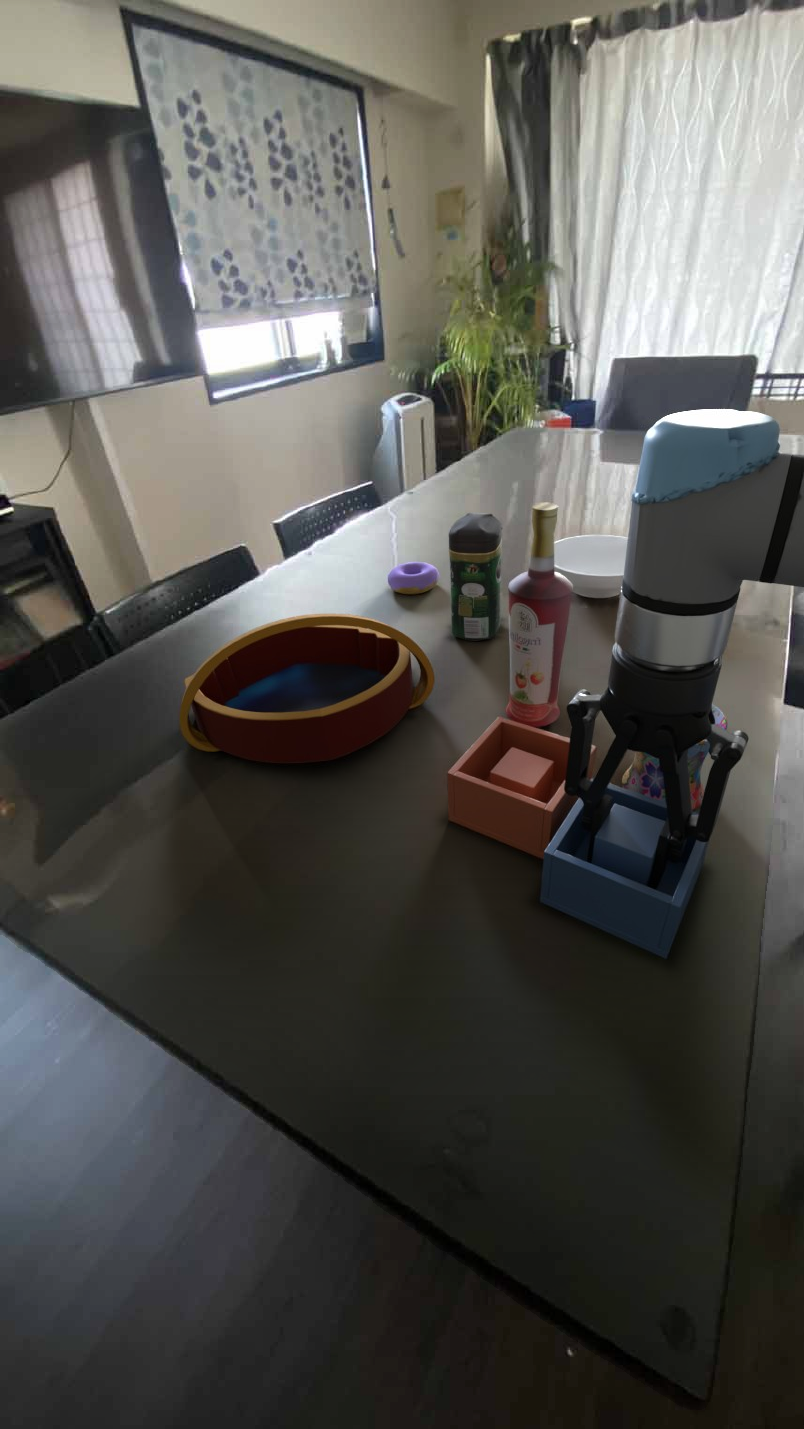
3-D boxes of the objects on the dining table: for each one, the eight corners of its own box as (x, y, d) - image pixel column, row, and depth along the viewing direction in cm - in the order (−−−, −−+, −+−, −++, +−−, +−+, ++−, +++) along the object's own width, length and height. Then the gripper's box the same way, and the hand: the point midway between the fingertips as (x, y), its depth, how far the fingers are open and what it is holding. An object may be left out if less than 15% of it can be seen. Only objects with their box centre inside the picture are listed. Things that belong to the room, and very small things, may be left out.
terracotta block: (551, 796, 71) (554, 761, 68) (531, 823, 68) (533, 788, 65) (510, 781, 73) (511, 746, 71) (489, 806, 70) (490, 771, 67)
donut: (420, 570, 128) (421, 548, 124) (447, 593, 122) (450, 571, 119) (377, 583, 124) (378, 561, 120) (403, 608, 118) (405, 586, 115)
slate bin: (700, 869, 62) (715, 818, 58) (666, 959, 55) (680, 907, 51) (585, 826, 68) (592, 777, 64) (539, 901, 60) (544, 851, 56)
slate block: (660, 860, 60) (669, 822, 57) (643, 897, 57) (652, 858, 54) (608, 840, 63) (614, 803, 60) (589, 874, 59) (595, 836, 57)
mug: (708, 829, 66) (732, 749, 60) (615, 815, 69) (628, 736, 63) (701, 758, 76) (721, 682, 69) (619, 748, 78) (631, 674, 72)
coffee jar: (458, 614, 111) (455, 507, 100) (503, 617, 109) (506, 508, 98) (446, 641, 103) (442, 528, 93) (495, 644, 101) (497, 530, 91)
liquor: (571, 716, 84) (593, 502, 68) (539, 742, 80) (554, 521, 64) (525, 697, 89) (536, 492, 73) (493, 721, 85) (496, 509, 69)
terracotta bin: (590, 794, 72) (596, 746, 68) (547, 861, 64) (552, 812, 60) (497, 762, 78) (498, 716, 74) (448, 820, 70) (446, 772, 66)
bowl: (522, 580, 121) (523, 545, 117) (612, 562, 125) (617, 528, 121) (576, 623, 106) (580, 584, 102) (677, 600, 110) (684, 562, 106)
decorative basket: (413, 664, 103) (402, 572, 96) (465, 748, 77) (455, 629, 70) (199, 703, 98) (172, 610, 92) (178, 806, 72) (138, 686, 66)
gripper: (816, 652, 44) (738, 877, 58) (569, 603, 53) (551, 808, 67) (799, 705, 39) (718, 938, 53) (530, 641, 48) (519, 854, 62)
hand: (625, 865), depth 60 cm, fingers closed on slate block, 5 cm apart
